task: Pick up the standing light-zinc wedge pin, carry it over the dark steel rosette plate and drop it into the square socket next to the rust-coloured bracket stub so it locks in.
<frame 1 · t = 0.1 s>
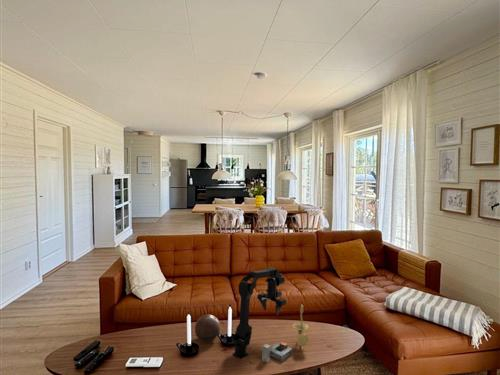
hand: (271, 312, 193), 15 cm above the table, fingers open, 9 cm apart
wooden sphere: (207, 340, 186), on the table
wedge pin: (266, 360, 166), on the table
wall sconce: (300, 346, 182), on the table
rosette plate: (279, 354, 173), on the table
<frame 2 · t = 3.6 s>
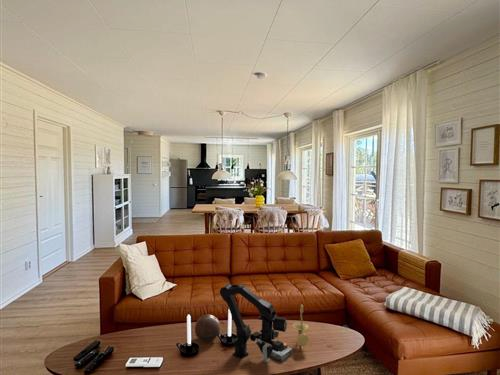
hand: (266, 356, 166), 2 cm above the table, fingers closed on wedge pin, 3 cm apart
wedge pin: (266, 360, 166), on the table, touching gripper
everything else where it was.
when the fingers open (4 cm above the table, at t = 6.7 s): wedge pin drops 2 cm, resting in rosette plate.
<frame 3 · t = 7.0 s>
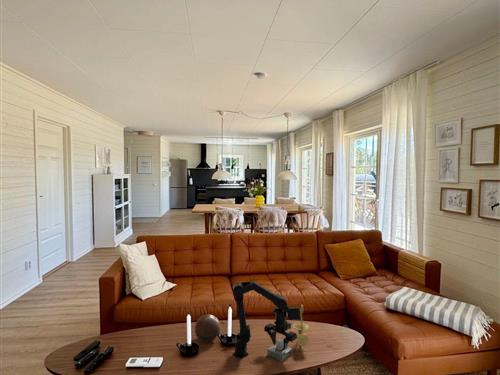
hand: (279, 347, 173), 4 cm above the table, fingers open, 7 cm apart
wedge pin: (279, 354, 173), resting in rosette plate
everything else where it was.
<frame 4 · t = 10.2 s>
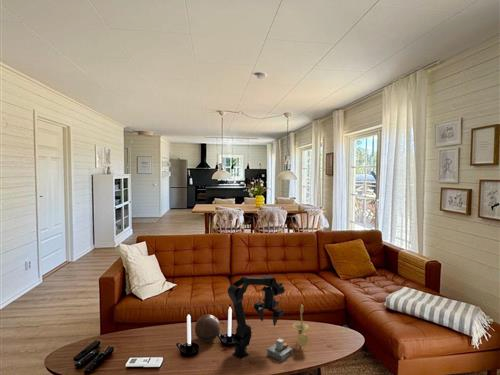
hand: (268, 323, 184), 12 cm above the table, fingers open, 9 cm apart
nothing on the table moved.
at the end: wedge pin 0.0 cm off-centre on the rosette plate, point 0.0 cm above the rosette plate's base; wedge pin tilted 0°; the gripper is holding nothing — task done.
